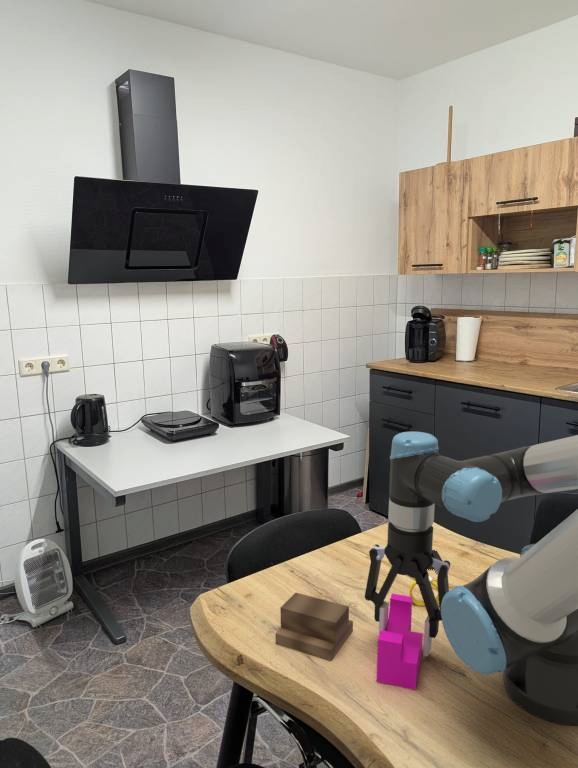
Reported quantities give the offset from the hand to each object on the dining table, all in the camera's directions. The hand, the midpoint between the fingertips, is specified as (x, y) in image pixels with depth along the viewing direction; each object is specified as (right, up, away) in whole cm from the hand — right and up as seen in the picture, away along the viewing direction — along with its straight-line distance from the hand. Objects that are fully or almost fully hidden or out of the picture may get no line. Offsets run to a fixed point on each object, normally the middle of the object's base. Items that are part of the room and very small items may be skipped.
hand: (404, 644), depth 103 cm
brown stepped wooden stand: (-16, -1, +5) cm, 16 cm away
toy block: (-1, -2, -2) cm, 3 cm away
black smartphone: (+13, +4, +34) cm, 37 cm away
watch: (+7, +1, +15) cm, 17 cm away
